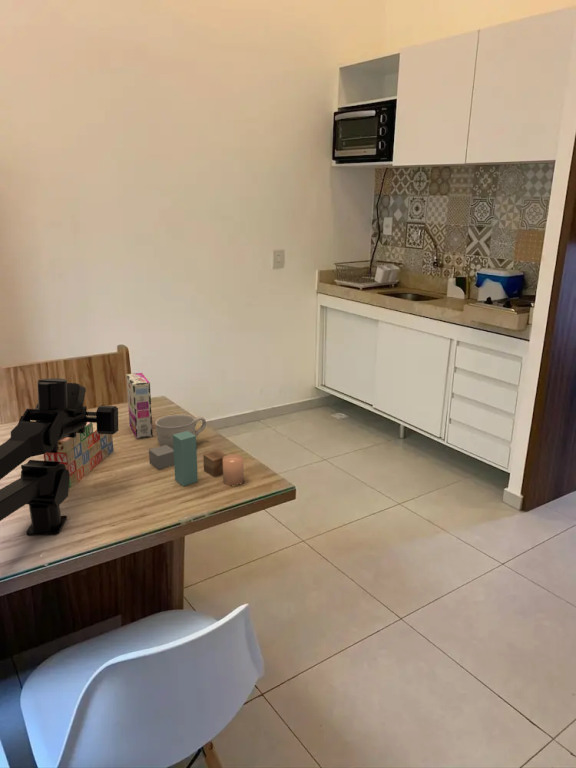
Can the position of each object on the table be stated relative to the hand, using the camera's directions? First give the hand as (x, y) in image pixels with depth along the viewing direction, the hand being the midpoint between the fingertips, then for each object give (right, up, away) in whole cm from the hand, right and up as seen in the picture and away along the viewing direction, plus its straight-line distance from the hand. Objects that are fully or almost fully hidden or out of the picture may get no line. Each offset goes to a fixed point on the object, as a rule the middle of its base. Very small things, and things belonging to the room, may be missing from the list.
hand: (93, 411), depth 139 cm
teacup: (+18, -11, +21) cm, 29 cm away
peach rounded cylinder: (+34, -17, +1) cm, 38 cm away
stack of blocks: (-5, -15, +8) cm, 18 cm away
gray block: (+15, -14, +10) cm, 23 cm away
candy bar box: (+4, -8, +30) cm, 32 cm away
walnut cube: (+29, -16, +6) cm, 33 cm away
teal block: (+22, -17, +1) cm, 28 cm away
